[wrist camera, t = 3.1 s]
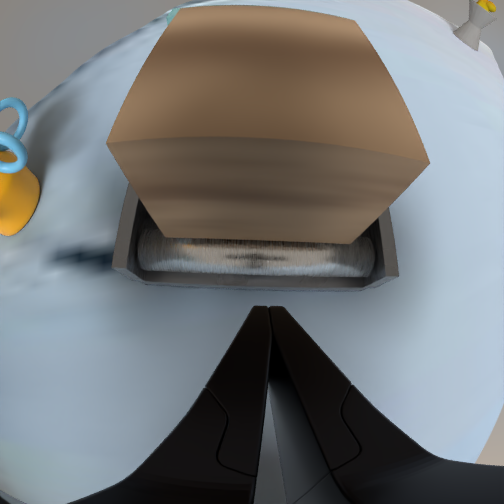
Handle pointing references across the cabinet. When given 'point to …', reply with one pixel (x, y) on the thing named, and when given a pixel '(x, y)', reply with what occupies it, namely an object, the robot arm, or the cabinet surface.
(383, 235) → the roller bed
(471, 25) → the lava lamp
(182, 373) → the cabinet surface
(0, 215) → the orange post with rings
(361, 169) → the brown wooden block
